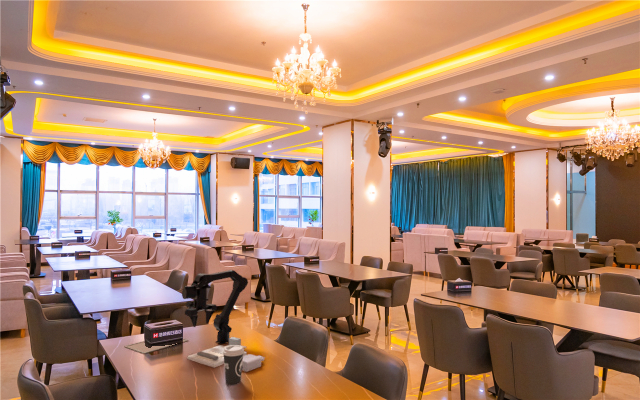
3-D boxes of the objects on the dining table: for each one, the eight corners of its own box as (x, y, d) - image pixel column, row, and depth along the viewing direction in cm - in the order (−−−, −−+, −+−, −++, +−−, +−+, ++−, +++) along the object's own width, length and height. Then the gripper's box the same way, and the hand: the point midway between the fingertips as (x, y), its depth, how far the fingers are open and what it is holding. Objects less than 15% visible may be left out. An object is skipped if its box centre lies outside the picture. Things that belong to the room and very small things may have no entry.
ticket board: (220, 347, 236) (220, 342, 236) (246, 354, 225) (246, 348, 225) (187, 359, 218) (187, 353, 218) (214, 367, 207) (214, 361, 207)
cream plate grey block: (233, 344, 238) (233, 335, 238) (246, 347, 232) (246, 338, 232) (222, 347, 231) (222, 338, 231) (235, 351, 226) (236, 342, 226)
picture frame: (144, 355, 225) (188, 341, 248) (144, 353, 225) (188, 340, 248) (124, 347, 237) (168, 336, 259) (124, 346, 237) (168, 334, 259)
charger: (270, 363, 213) (247, 372, 201) (257, 359, 219) (234, 368, 207) (270, 354, 213) (247, 362, 201) (257, 350, 219) (234, 358, 207)
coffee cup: (234, 376, 197) (235, 343, 197) (248, 381, 190) (248, 347, 191) (217, 382, 189) (218, 348, 189) (231, 388, 183) (231, 352, 183)
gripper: (203, 292, 250) (203, 319, 249) (178, 297, 234) (177, 326, 234) (217, 294, 244) (217, 322, 244) (192, 300, 228) (191, 329, 228)
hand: (200, 325), depth 237 cm, fingers open, 9 cm apart
